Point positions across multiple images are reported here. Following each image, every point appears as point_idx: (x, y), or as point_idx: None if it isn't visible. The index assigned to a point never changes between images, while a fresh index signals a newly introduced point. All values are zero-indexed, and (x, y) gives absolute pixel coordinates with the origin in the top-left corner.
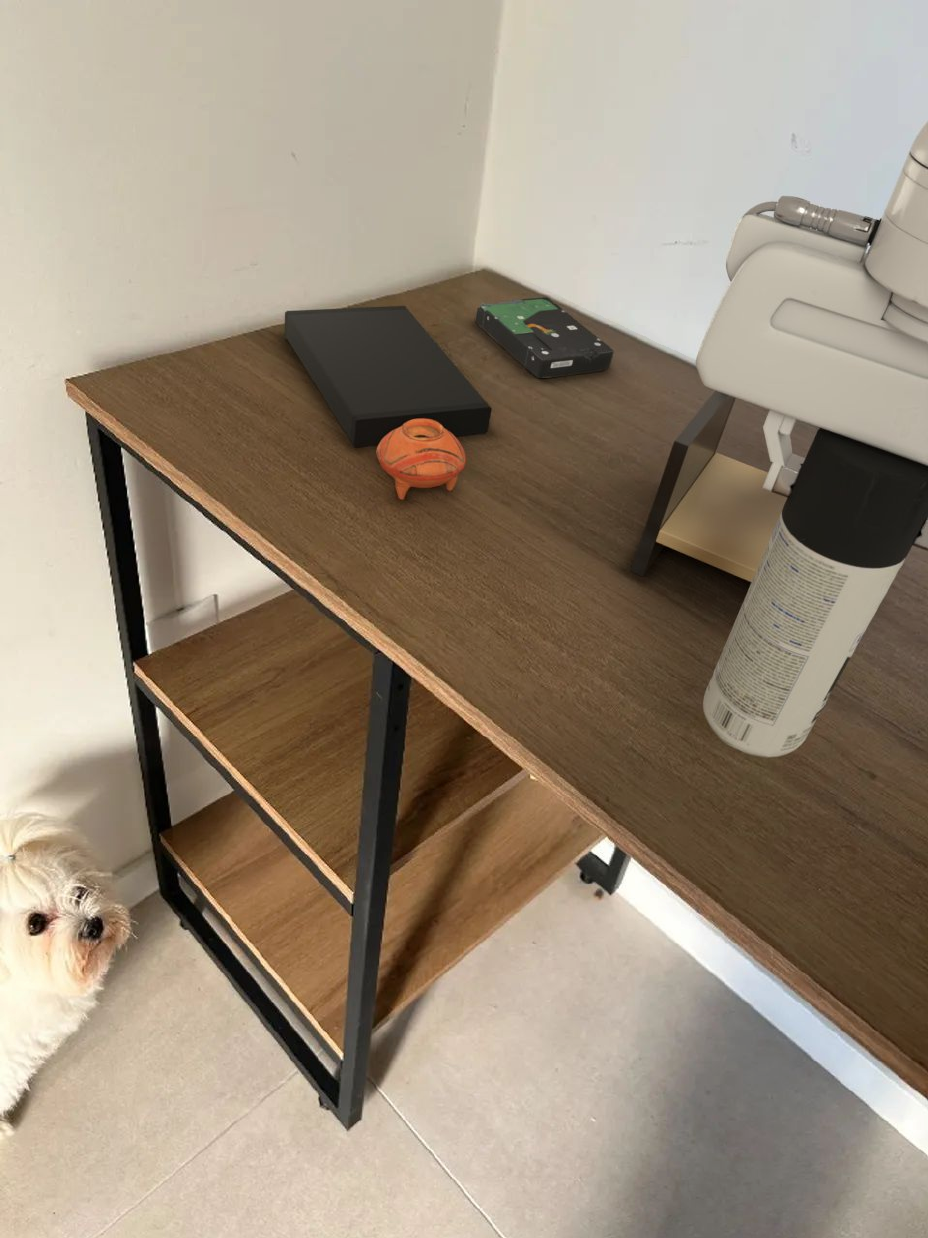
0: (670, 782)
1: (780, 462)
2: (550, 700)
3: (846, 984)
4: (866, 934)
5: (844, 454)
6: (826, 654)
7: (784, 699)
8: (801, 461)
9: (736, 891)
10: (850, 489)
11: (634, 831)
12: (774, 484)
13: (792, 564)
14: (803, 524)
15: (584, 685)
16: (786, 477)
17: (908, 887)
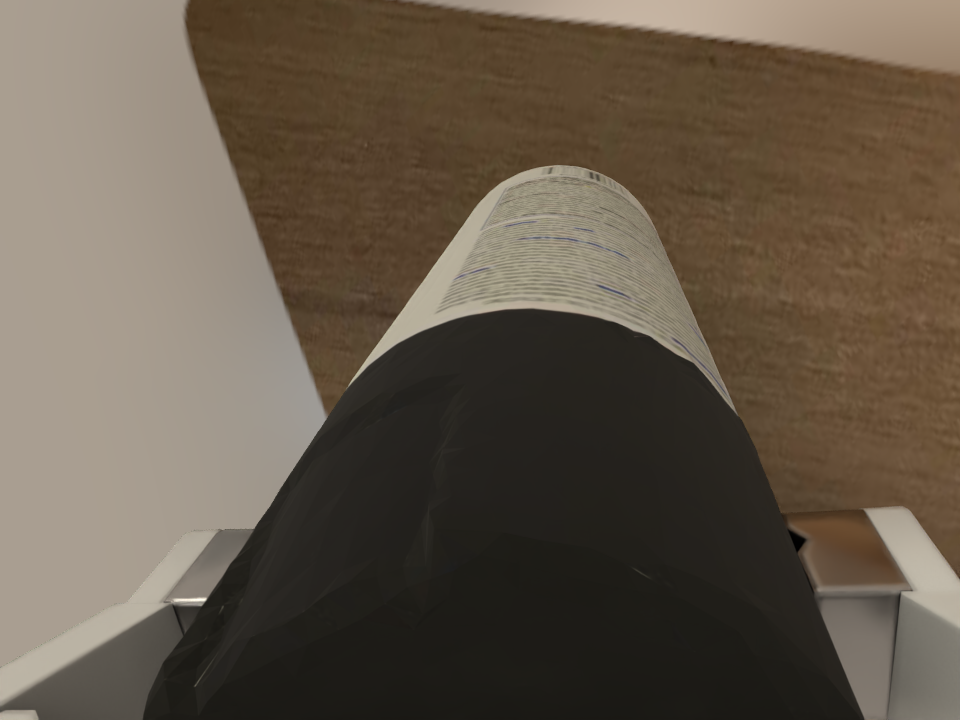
0: (634, 175)
1: (934, 598)
2: (899, 197)
3: (272, 9)
4: (285, 117)
5: (671, 663)
6: (444, 256)
7: (501, 200)
8: None
9: (460, 45)
10: (535, 469)
11: (644, 32)
12: (871, 523)
13: (626, 298)
14: (665, 369)
15: (855, 274)
16: (849, 558)
17: (273, 240)
